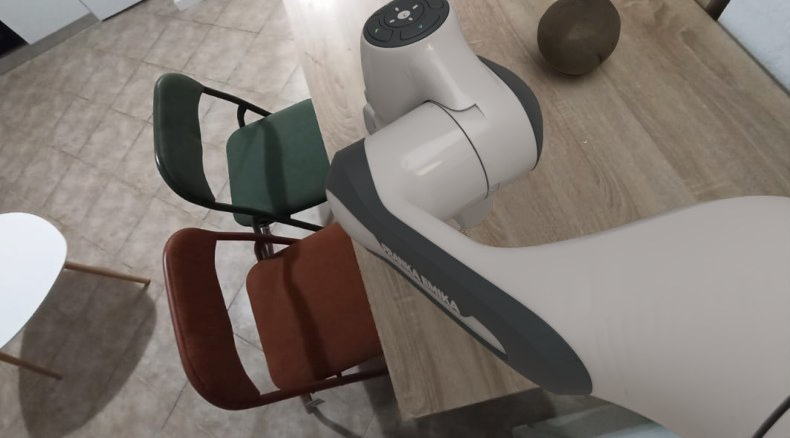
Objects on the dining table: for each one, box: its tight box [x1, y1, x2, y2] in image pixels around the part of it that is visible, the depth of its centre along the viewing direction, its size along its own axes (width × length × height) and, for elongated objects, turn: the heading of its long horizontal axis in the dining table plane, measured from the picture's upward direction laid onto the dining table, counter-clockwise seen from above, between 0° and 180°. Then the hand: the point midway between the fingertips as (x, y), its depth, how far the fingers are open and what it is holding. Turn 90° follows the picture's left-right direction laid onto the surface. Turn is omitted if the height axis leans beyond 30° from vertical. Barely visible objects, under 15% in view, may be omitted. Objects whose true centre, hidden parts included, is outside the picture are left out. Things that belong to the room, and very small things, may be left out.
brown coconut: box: [536, 0, 622, 75], centre depth 85 cm, size 14×14×15 cm
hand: (425, 188), depth 61 cm, fingers closed on milk carton, 7 cm apart
